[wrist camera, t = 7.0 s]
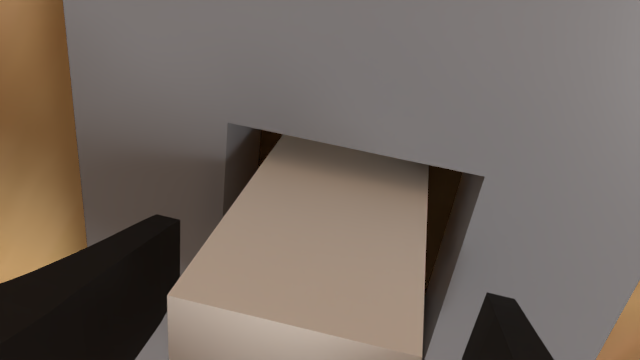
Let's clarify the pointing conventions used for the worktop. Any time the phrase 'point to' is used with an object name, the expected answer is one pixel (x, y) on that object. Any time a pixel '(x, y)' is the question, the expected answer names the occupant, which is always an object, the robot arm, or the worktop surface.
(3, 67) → the worktop surface
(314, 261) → the square peg
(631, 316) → the worktop surface
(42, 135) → the worktop surface
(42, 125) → the worktop surface
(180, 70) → the socket plate
